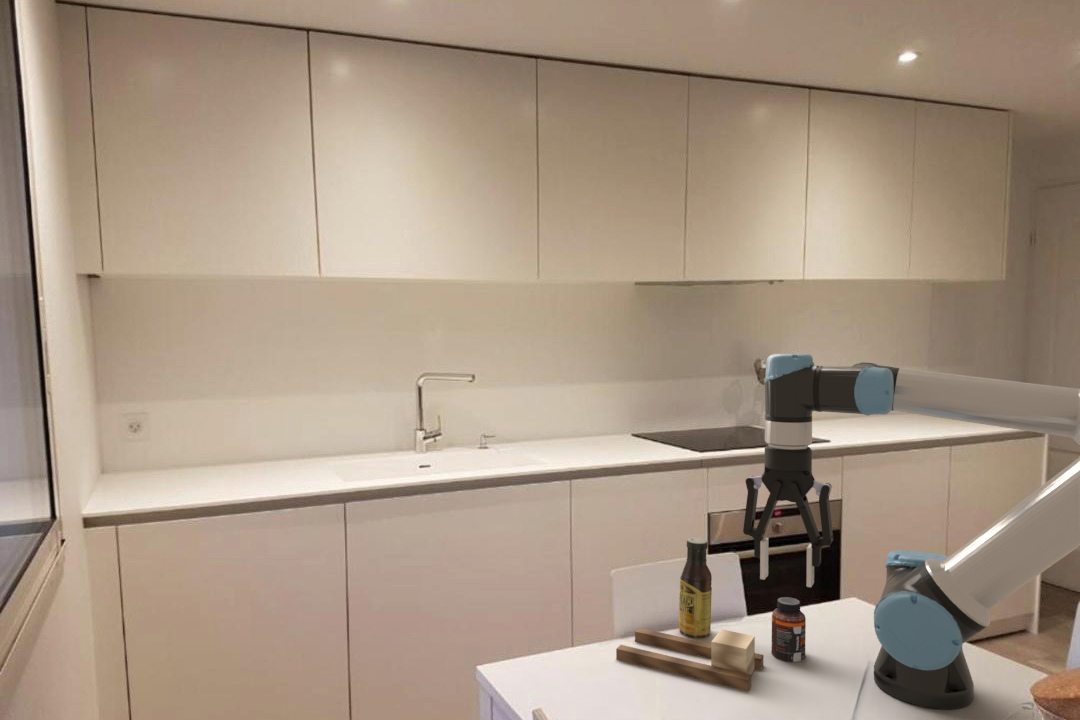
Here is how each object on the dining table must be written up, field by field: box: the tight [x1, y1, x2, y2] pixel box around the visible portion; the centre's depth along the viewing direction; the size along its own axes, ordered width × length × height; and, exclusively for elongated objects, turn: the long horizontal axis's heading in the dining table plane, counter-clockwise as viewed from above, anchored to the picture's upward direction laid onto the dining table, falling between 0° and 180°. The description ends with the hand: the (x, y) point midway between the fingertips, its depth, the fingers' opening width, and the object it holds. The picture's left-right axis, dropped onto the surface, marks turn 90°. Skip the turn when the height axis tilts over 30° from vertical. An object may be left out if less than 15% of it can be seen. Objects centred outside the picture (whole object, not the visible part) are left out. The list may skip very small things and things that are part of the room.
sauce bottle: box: [678, 536, 713, 639], centre depth 144 cm, size 7×6×20 cm
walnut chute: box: [615, 627, 764, 692], centre depth 131 cm, size 24×12×3 cm, turn 60°
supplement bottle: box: [771, 596, 807, 663], centre depth 134 cm, size 6×6×11 cm
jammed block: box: [710, 628, 756, 676], centre depth 127 cm, size 6×6×6 cm
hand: (786, 580), depth 122 cm, fingers open, 7 cm apart
